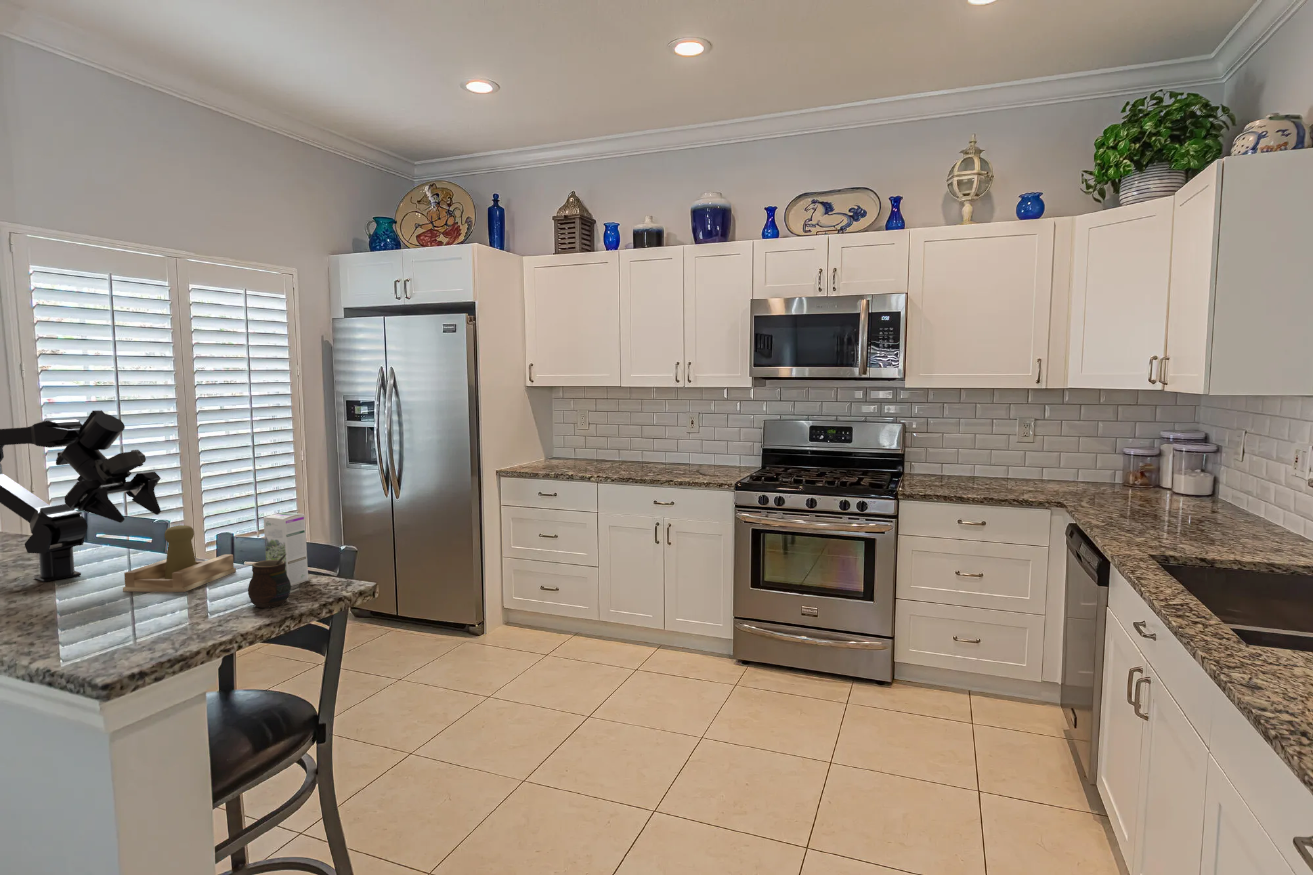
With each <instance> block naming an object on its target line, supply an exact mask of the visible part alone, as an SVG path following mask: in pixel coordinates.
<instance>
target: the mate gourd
mask: <svg viewBox="0 0 1313 875" xmlns="http://www.w3.org/2000/svg"><path fill="white" fill-rule="evenodd" d="M285 556H286V554H285V555H283V557H282V558H281V559H279V560H266V559H265V560H260V561H257V562H254V563H253V564H251V572H252V576H251V579H250V581H249V584H248V586H247V587H248V588H247V594H248V597H249V599H250V602H251V604H253V605H254V606H255V607H257V608H262V609H268V608H274V607H279V606H281V605H283V604H284V603H285V602H286V601H287V600H288V599H289V597H290V593H291V591H292V586H291V583H290V580H289V579H288V577H287V574H286V572H285V561H282V560H283V558H284V557H285Z"/></svg>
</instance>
